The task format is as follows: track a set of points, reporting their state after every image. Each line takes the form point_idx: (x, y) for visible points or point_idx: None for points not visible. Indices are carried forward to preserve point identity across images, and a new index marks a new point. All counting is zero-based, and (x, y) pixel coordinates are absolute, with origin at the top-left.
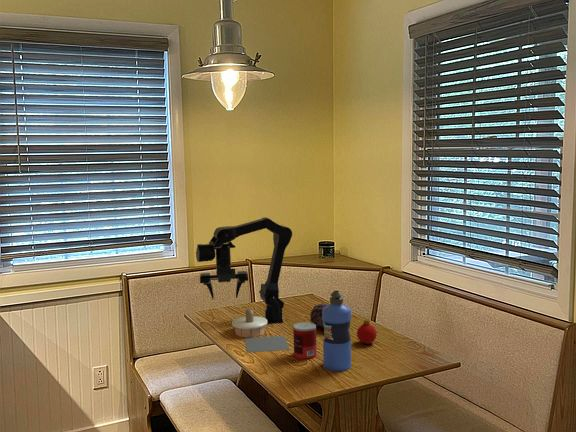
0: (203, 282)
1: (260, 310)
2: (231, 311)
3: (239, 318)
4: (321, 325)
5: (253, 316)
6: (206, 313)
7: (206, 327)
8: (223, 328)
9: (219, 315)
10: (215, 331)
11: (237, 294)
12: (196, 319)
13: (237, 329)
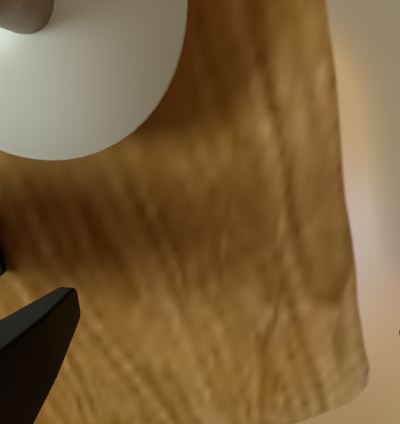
0: None
1: None
2: (177, 395)
3: (117, 115)
4: None
5: (5, 143)
6: (287, 397)
7: (329, 215)
8: (237, 175)
9: (234, 364)
10: (293, 129)
11: (15, 316)
12: (349, 340)
13: None
